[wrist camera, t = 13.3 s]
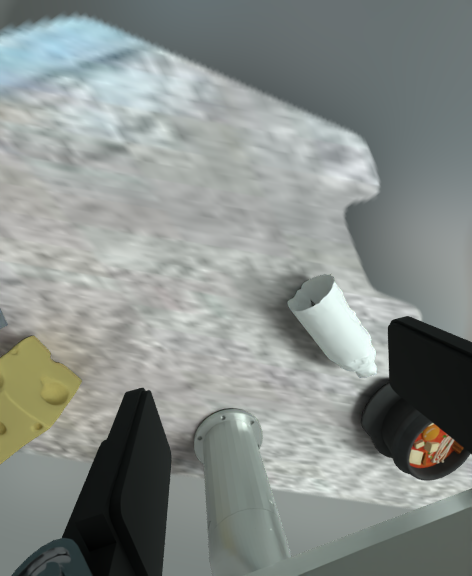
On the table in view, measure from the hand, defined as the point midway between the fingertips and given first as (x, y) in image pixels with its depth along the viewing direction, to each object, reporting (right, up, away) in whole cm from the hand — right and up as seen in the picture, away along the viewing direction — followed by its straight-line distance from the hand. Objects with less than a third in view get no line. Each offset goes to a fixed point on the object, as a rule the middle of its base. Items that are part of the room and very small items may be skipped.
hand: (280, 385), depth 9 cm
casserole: (+34, -23, +44) cm, 60 cm away
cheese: (-32, -10, +29) cm, 44 cm away
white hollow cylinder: (+14, -2, +35) cm, 38 cm away
